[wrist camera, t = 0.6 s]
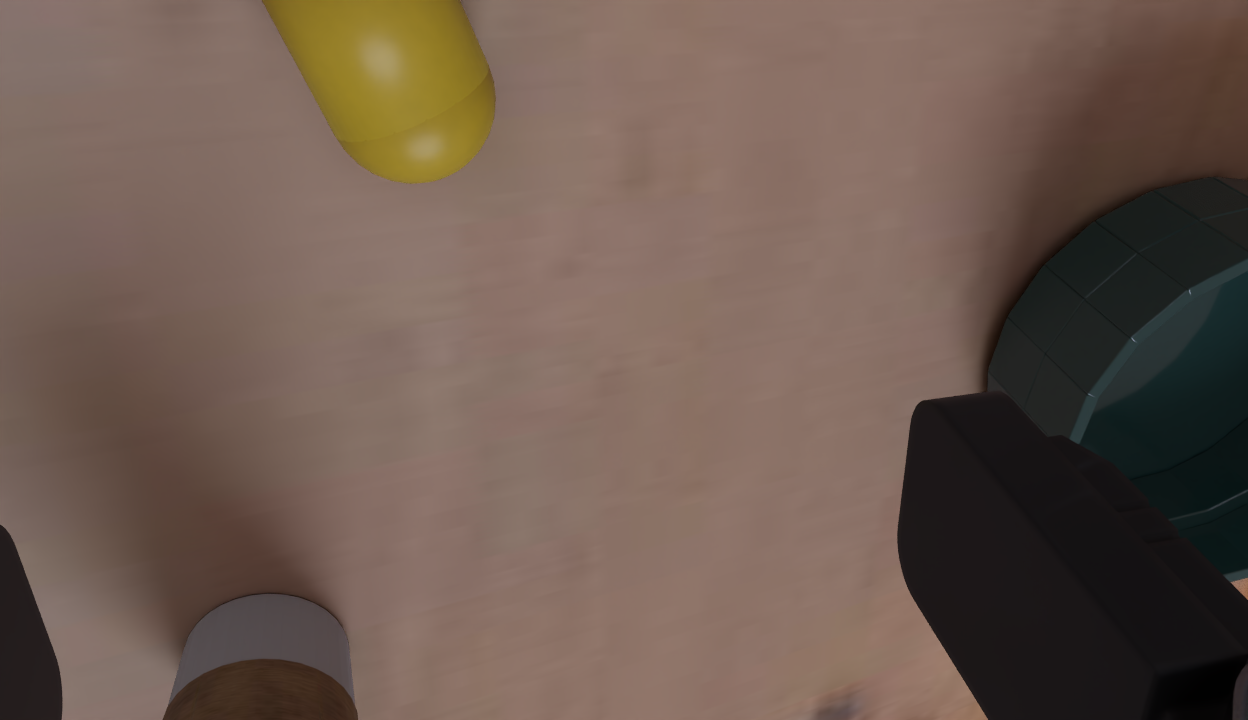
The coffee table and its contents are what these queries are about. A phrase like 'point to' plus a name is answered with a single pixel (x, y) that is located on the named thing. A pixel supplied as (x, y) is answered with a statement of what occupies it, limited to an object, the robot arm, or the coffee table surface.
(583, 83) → the coffee table surface
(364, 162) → the capsule
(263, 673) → the coffee cup
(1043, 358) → the teal round dish
